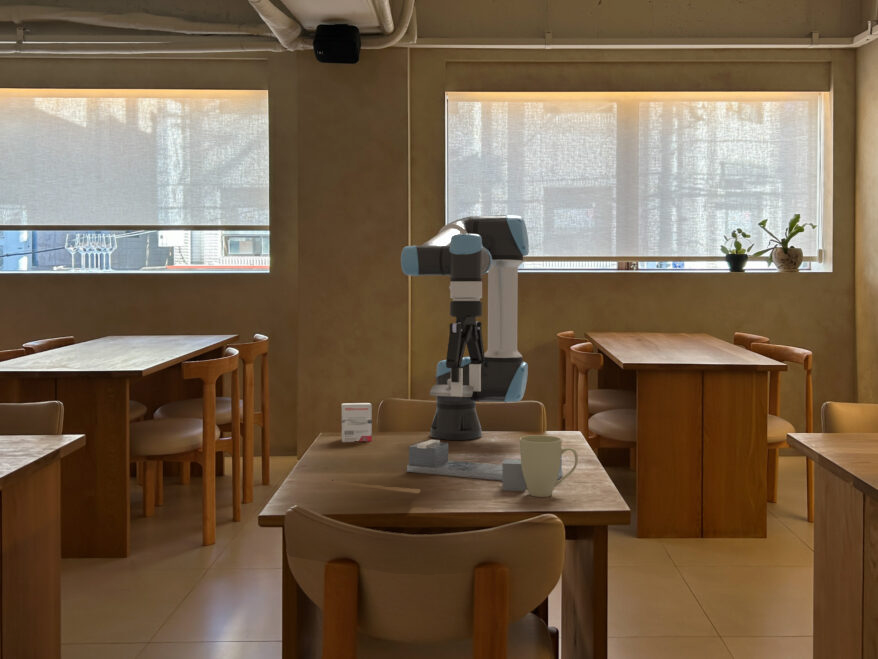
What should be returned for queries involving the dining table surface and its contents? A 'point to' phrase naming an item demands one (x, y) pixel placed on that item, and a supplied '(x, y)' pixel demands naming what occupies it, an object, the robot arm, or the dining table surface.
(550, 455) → the mug
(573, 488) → the dining table surface
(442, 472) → the rail
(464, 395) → the grey cover with knob
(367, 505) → the dining table surface
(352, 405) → the ink box
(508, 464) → the block
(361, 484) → the dining table surface
